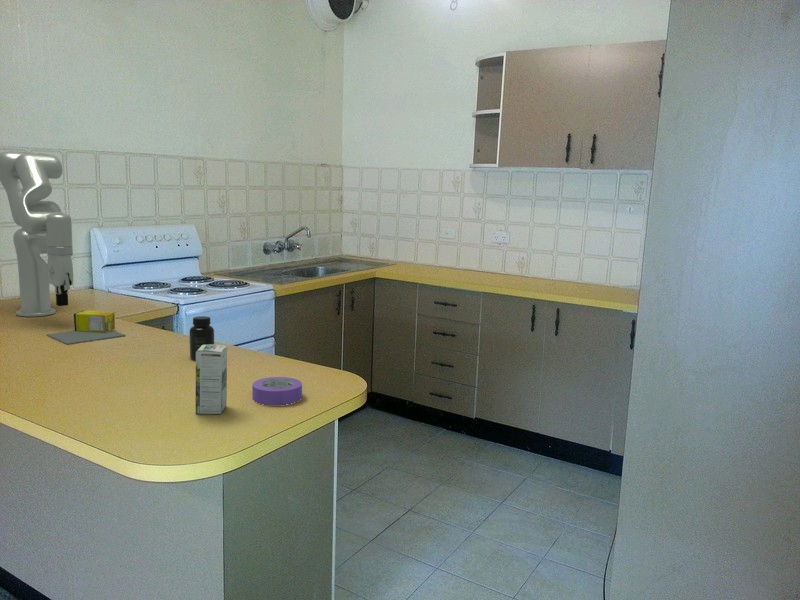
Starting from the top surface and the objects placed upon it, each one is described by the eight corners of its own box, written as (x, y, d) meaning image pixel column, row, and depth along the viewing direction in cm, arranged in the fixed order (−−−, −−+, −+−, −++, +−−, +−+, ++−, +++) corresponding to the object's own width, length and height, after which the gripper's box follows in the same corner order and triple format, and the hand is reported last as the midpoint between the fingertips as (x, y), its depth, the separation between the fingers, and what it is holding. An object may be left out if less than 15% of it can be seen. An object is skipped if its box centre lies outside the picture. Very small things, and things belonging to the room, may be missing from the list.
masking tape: (256, 390, 155) (256, 375, 154) (303, 391, 156) (303, 376, 155) (248, 406, 143) (248, 390, 143) (299, 407, 144) (299, 391, 144)
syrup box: (201, 405, 142) (200, 343, 139) (227, 406, 142) (227, 344, 140) (195, 414, 136) (194, 350, 134) (222, 414, 137) (222, 350, 134)
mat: (46, 335, 199) (46, 334, 199) (103, 327, 212) (103, 326, 212) (67, 344, 189) (67, 343, 188) (125, 336, 202) (125, 334, 202)
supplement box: (84, 327, 210) (115, 329, 209) (74, 331, 204) (105, 333, 204) (83, 309, 209) (115, 311, 208) (73, 313, 203) (105, 315, 203)
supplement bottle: (219, 357, 182) (219, 317, 180) (203, 362, 176) (202, 321, 174) (201, 353, 185) (200, 314, 183) (184, 358, 179) (183, 318, 177)
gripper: (38, 249, 209) (41, 302, 212) (57, 254, 200) (59, 310, 203) (62, 248, 215) (64, 300, 218) (81, 253, 205) (83, 307, 209)
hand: (62, 305), depth 210 cm, fingers closed
